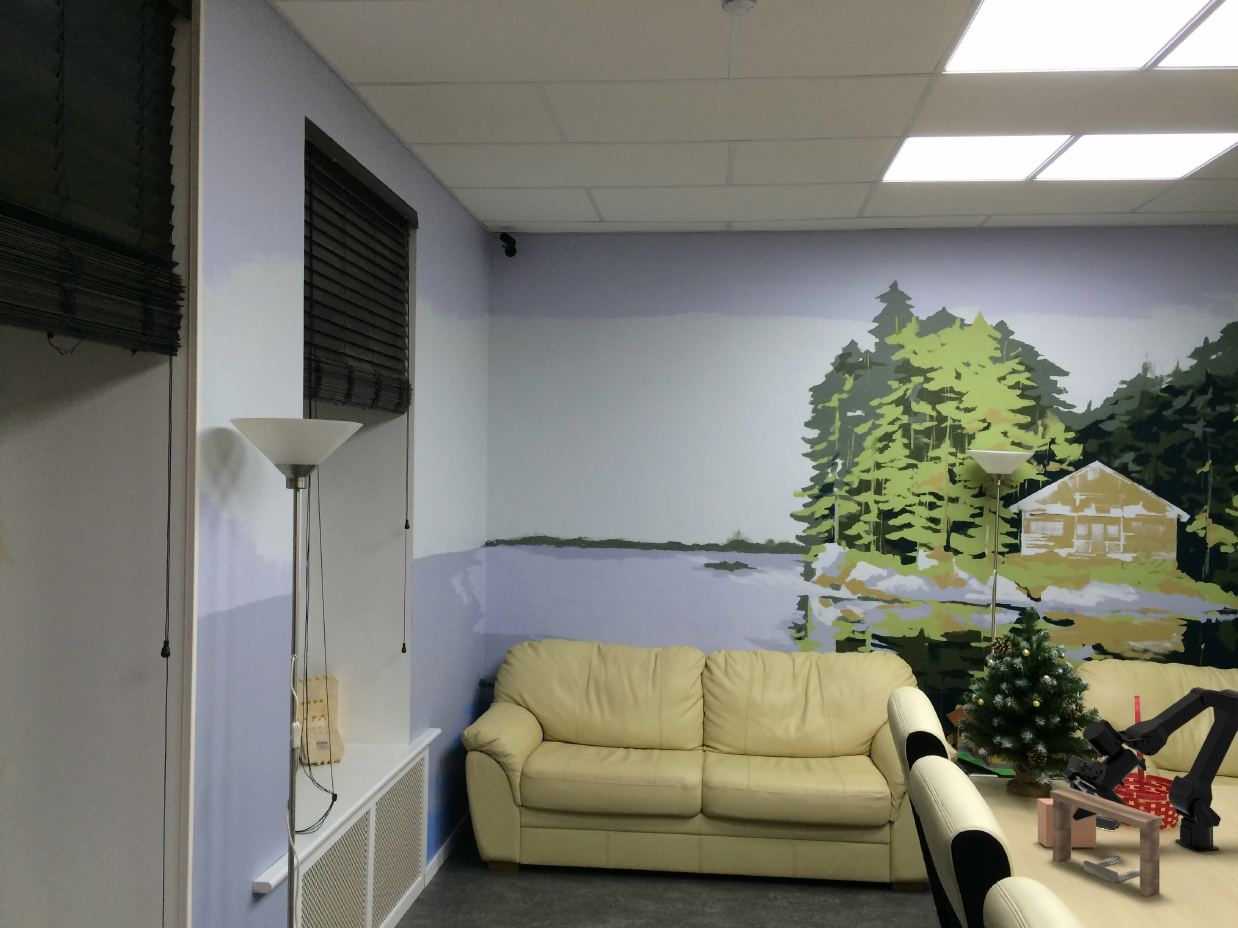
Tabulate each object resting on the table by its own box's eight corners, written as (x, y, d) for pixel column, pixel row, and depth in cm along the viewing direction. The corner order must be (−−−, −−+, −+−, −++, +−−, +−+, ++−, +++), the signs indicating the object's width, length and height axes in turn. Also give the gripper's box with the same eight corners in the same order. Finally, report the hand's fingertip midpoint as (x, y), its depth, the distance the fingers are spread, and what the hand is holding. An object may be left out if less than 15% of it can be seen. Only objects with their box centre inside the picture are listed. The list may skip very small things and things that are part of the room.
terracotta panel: (1086, 840, 214) (1086, 798, 214) (1096, 847, 210) (1095, 804, 210) (1037, 840, 213) (1037, 798, 214) (1046, 846, 210) (1046, 804, 210)
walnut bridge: (1087, 848, 210) (1087, 782, 210) (1182, 884, 191) (1182, 811, 191) (1049, 859, 203) (1050, 790, 203) (1144, 897, 184) (1144, 822, 185)
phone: (1059, 806, 237) (1121, 820, 227) (1059, 810, 237) (1121, 825, 227) (1049, 813, 231) (1113, 828, 221) (1049, 817, 231) (1113, 833, 221)
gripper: (1069, 734, 222) (1026, 778, 221) (1113, 756, 203) (1066, 804, 203) (1100, 766, 222) (1057, 810, 221) (1147, 791, 203) (1100, 839, 203)
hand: (1068, 815), depth 212 cm, fingers closed on terracotta panel, 4 cm apart
